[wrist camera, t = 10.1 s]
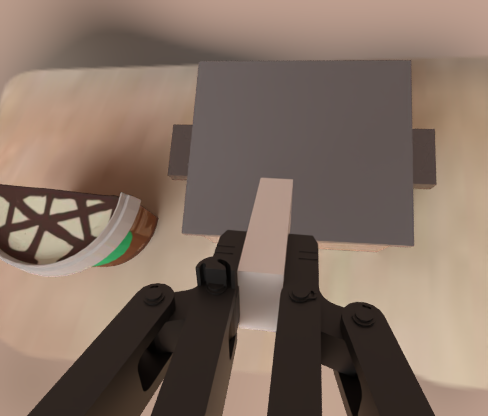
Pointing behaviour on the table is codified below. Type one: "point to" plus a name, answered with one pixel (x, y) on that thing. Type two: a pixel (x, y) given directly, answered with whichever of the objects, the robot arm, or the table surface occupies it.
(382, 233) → the pot lid
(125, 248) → the food container
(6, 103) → the table surface
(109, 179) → the table surface
